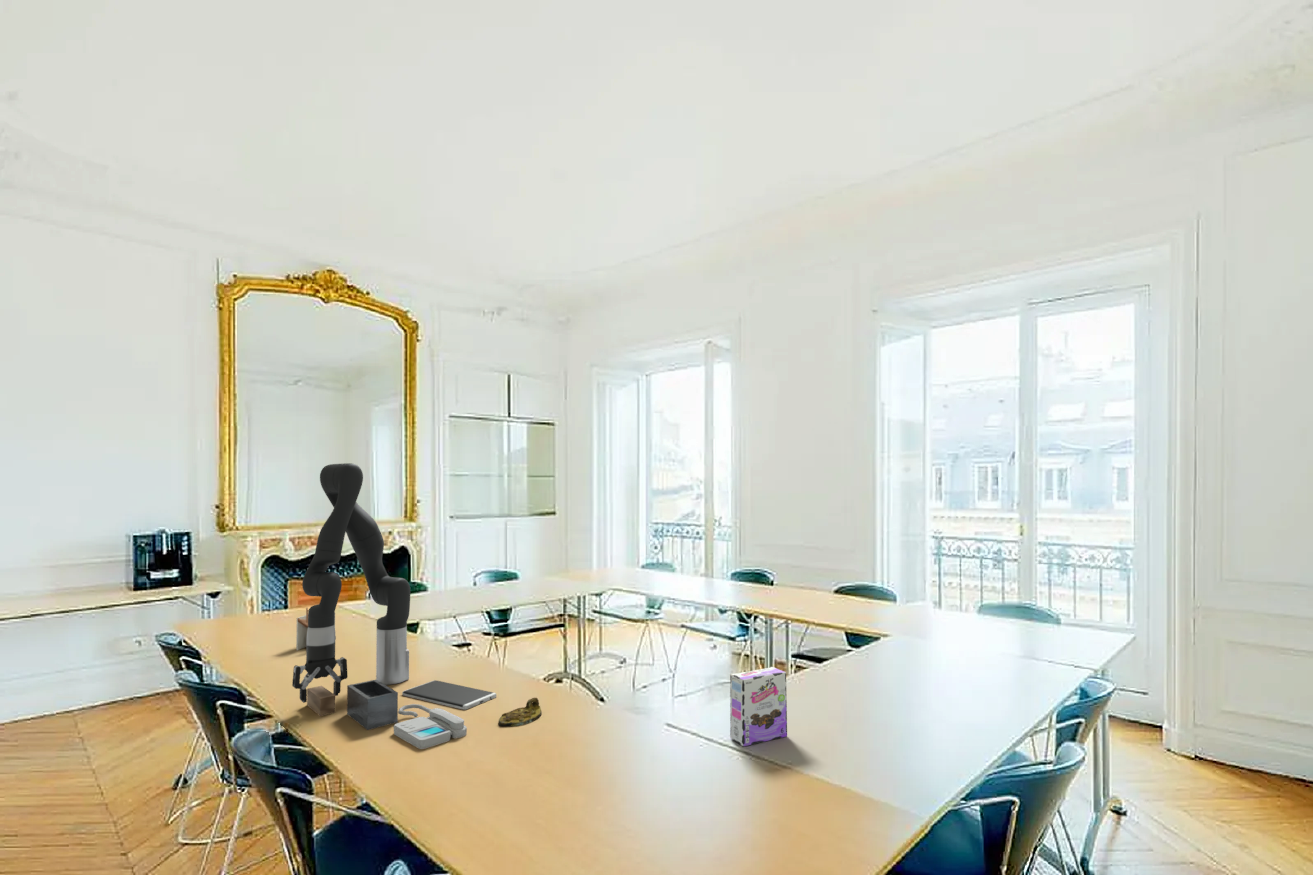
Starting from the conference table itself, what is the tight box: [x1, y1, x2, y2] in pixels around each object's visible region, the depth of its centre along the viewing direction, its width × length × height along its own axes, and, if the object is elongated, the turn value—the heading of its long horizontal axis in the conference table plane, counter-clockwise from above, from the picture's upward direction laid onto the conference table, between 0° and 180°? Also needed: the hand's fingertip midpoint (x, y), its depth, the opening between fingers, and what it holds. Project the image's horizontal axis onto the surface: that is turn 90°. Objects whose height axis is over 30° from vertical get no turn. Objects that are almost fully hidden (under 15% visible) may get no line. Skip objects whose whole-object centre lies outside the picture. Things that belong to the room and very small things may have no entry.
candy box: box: [729, 666, 788, 747], centre depth 177 cm, size 14×6×16 cm, turn 117°
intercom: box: [393, 703, 468, 750], centre depth 184 cm, size 13×4×25 cm
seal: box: [497, 697, 543, 727], centre depth 192 cm, size 9×5×15 cm
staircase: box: [295, 607, 309, 651], centre depth 270 cm, size 9×11×17 cm
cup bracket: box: [346, 679, 399, 731], centre depth 193 cm, size 8×16×8 cm, turn 42°
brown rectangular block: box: [306, 685, 336, 717], centre depth 201 cm, size 4×12×5 cm, turn 42°
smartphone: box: [401, 679, 497, 711], centre depth 211 cm, size 13×27×2 cm, turn 59°
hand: (320, 698), depth 200 cm, fingers open, 8 cm apart
